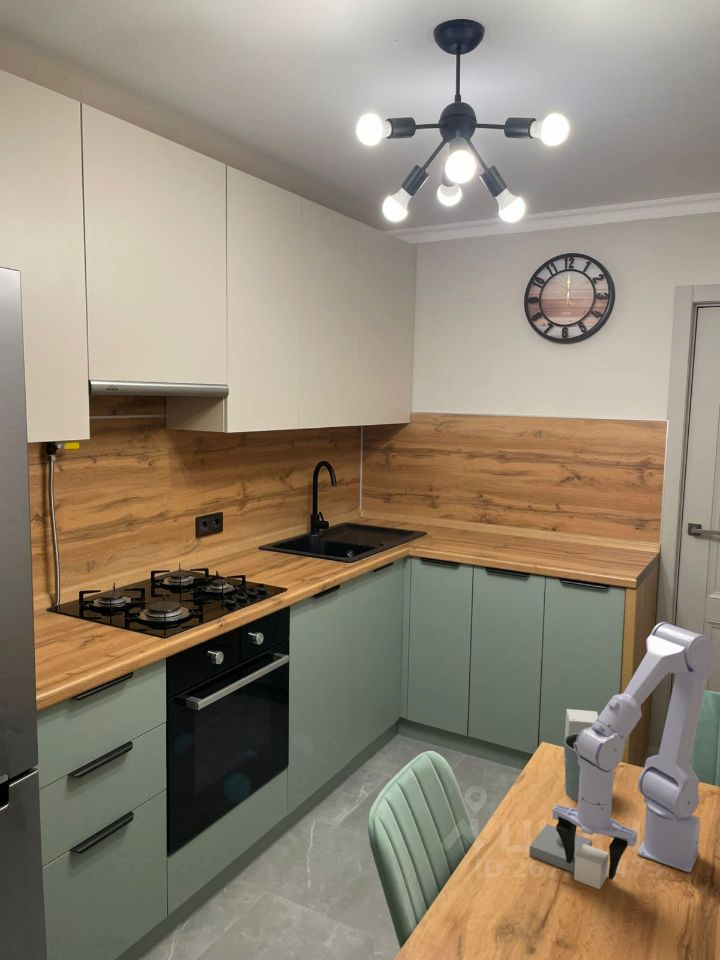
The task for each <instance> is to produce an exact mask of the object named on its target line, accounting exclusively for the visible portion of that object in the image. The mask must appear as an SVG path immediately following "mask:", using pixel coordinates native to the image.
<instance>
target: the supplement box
mask: <svg viewBox="0 0 720 960" xmlns="http://www.w3.org/2000/svg"><path fill="white" fill-rule="evenodd" d="M598 717H599V714H598V711H595V710H585V709H575V708H574V709H571V708H566V712H565V728H564V738H565V737H566V736H568V735H570V734H572V733H580V732H581V731H582V730H583V729H585V728H589V727H592V725H593V724H594V723H595V721H596V720H597V718H598ZM565 760H566V758H565V750H563V761H564V763H565Z"/></svg>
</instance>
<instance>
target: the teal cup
mask: <svg viewBox="0 0 720 960" xmlns="http://www.w3.org/2000/svg"><path fill="white" fill-rule="evenodd" d="M578 734H579V733H572V734H570V735H568V736H566V737H565V736H564V739H563V746H564V747H563V749H564V750H565V758H566V760H565V762H564V780H565V782H564V784H565V786H564V787H565V788H564V789H565V794H566V795H567V796H568V797H569V799H571V800H573V801H575V802H577V803H578V796H579V778H580V765H579V764H578V755H577V754H576V752H575V750H574V743H575V742H576V739H577V736H578ZM564 750H563V751H564Z"/></svg>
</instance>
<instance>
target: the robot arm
mask: <svg viewBox="0 0 720 960" xmlns="http://www.w3.org/2000/svg"><path fill="white" fill-rule="evenodd" d="M645 643H646V651H647V652H646V654H645V655H644V657H643V658H642V660H641V662H640V664H639V665H638V667H637V669H636V670H635V672H634V674H633V676H632V678H631V680H630V681H629V683H628V684H627V687H626V688H625V689H624V692H623V693H619V694H615V695H612V697H611V698H610V700H609V701H608V702H607V704H606V706H605V707H604V708H603V710H602V711H601V713H600V714H598V716H599V717H598V718H597V720H596V721H595V723H594V724H593V725H592V727H589V728H585V729H583V730H582V731H581V732H580V733H579V734H578V736H577V739H576V742H575V743H574V750H575V752H576V754H577V755H578V764H579V765H580V778H579V796H578V802H577V808H576V807H575V808H574V807H568V806H563V805H559V804H556V805H555V806H554V807H553V808H552V815H551V818H552V819H553V820H555V821H557V824H556V825H555V827H556V831H557V832H558V834H559V836H560V838H561V841H562V843H563V846H564V850H565V855H566V861H567V863H571V861H572V859H573V858H574V853H575V834H576V833H577V828H580V829H581V832H582V833H584V834H587V835H588V836H589V835H590V836H594V834H596V835H597V834H598V835H603V836H606V837H609V838H611V839H612V838H613V839H612V841H611V842H610V843H609V845H608V849H609V852H608V853H609V865H608V875H607V877H608V879H609V880H614V878H615V876H616V875H617V870H618V866H619V862H620V860H621V857H622V856H623V854H624V853H625V851H626V849H627V848H628V846H629V847H632V848H634V847H635V845H636V844H637V838H638V837H637V836H638V835H637V834H638V832H637V831H635V830H633V829H630V828H628V827H627V826H625V825H623V824H621V823H620V822H618V821H616V820H614V819H612V806H613V788H614V777H615V776H614V774H615V769H616V768H617V767H618V765H619V764H620V763H621V762H622V760H623V756H624V750H625V748H626V744H627V742H626V740H627V738H628V737H629V736H630V735H631V733H632V731H633V730H634V728H635V727H636V725H637V724H638V722H639V721H640V719H641V718H642V709H641V708H642V707H641V706H642V704H643V703H644V701H646V699H648V697H649V696H650V695H651V694H652V692H653V691H654V690H655V688H657V686H658V685H659V684H660V682H661V681H662V680H663V679H664V677H666V675H668V674H675V679H674V683H673V686H672V687H673V688H672V692H671V696H670V700H669V705H668V710H667V715H666V719H665V724H664V728H663V732H662V737H661V743H660V747H659V751H658V754H655V755H652V756H650V757H648V758H647V759H646V760H645V764H644V768H643V769H642V771H641V772H640V773H639V776H638V781H637V788H638V791H639V793H640V794H641V795H642V796H643V802H644V803H645V804H646V807H645V821H644V822H645V823H644V824H645V825H644V837H643V841H642V842H641V844H640V846H639V848H638V849H637V855H638V856H640V857H644V858H647V859H649V860H652V861H655V862H658V863H661V864H664V865H666V866H669V867H672V868H675V869H678V870H681V871H684V872H686V873H691V872H692V871H693V868H694V865H695V863H696V860H697V858H698V856H699V853H700V852H699V851H700V850H699V846H700V845H699V844H700V843H699V841H700V830H701V828H700V827H701V820H700V819H701V818H700V817H699V816H697V815H694V813H695V812H696V810H697V808H698V806H699V803H700V793H699V784H700V778H699V777H698V776H697V774H696V772H695V770H694V769H693V768H692V766H691V764H690V759H691V754H692V750H693V746H694V742H695V737H696V731H697V727H698V723H699V719H700V713H701V709H702V705H703V701H704V700H703V699H704V695H705V691H706V687H707V681H708V679H710V675H711V669H712V665H713V660H714V657H715V651H716V647H715V646H714V644H713V642H712V641H711V640H710V638H709V637H708V636H707V635H705V634H702V633H701V634H699V633H696V632H694V631H691V630H687V629H684V628H682V627H679V626H676V625H672V624H671V623H669V622H667V621H662V622H659V623H657V624H656V625H654V627H653V628H652V630H651V633H650V635H649V636H648V637H647V638H646V642H645Z"/></svg>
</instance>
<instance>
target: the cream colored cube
mask: <svg viewBox="0 0 720 960" xmlns="http://www.w3.org/2000/svg"><path fill="white" fill-rule="evenodd" d="M609 859H610V852H608V851H605V850H602V849H599V848H597V847H594V846H593V845H592V846H589V845H586V844H583V845H582V847H581V848H580V850H579V851H578V853H577V854H576V856H575V871H574V873H573V874H574V875H573V880H575V881H577V882H580V883H581V884H584V885H588V886H590V887H593V888H596V889H598V890H600V889H601V888H602V886H604V883H605V881H606V880H607V877H608V874H609Z"/></svg>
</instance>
